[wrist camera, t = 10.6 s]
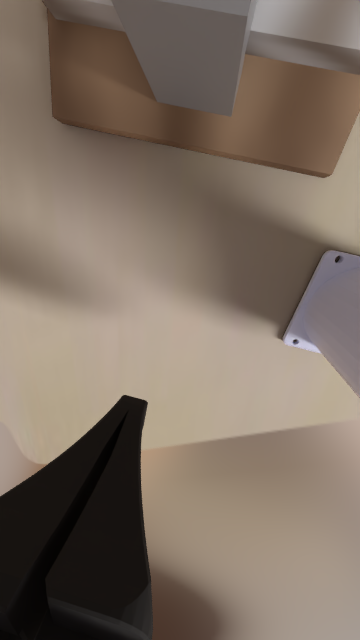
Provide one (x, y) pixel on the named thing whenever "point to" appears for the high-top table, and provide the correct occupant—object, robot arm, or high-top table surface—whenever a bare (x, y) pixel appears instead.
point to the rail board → (252, 95)
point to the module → (190, 48)
